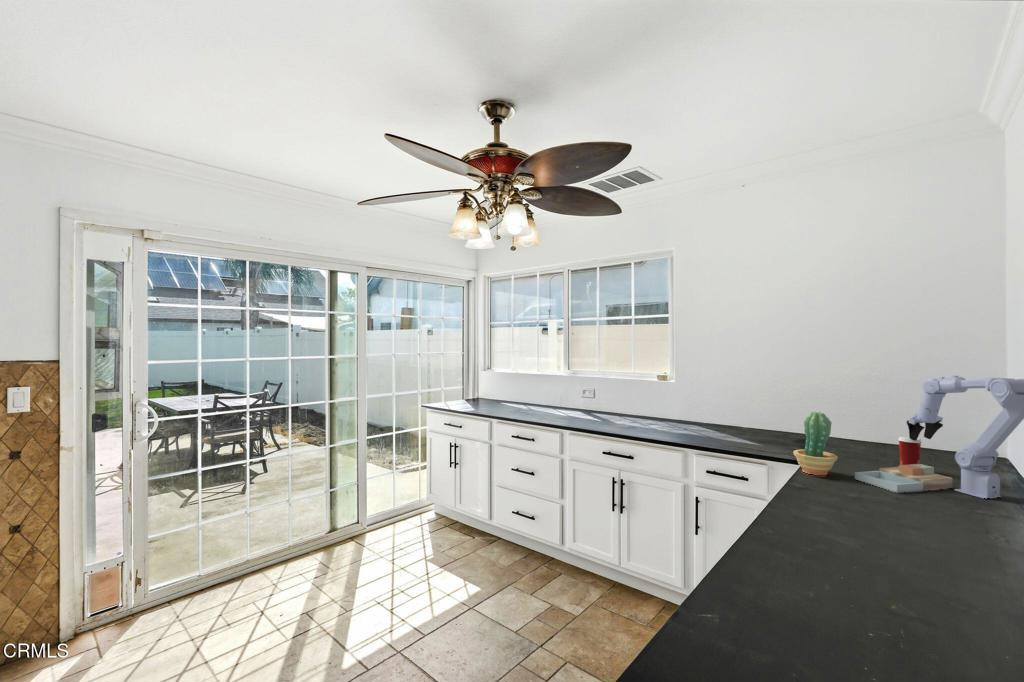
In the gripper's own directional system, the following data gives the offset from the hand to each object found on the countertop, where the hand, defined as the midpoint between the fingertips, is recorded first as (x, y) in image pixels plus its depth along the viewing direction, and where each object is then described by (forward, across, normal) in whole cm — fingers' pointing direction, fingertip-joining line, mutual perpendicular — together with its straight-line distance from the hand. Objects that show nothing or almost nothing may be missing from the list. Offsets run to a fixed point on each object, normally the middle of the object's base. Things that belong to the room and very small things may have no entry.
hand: (919, 438), depth 187 cm
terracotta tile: (+9, +14, +9) cm, 19 cm away
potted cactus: (+17, +38, -8) cm, 43 cm away
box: (+12, +25, +10) cm, 30 cm away
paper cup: (+17, -4, -3) cm, 18 cm away
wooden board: (+12, +12, +10) cm, 20 cm away
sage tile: (+9, +8, +9) cm, 15 cm away
